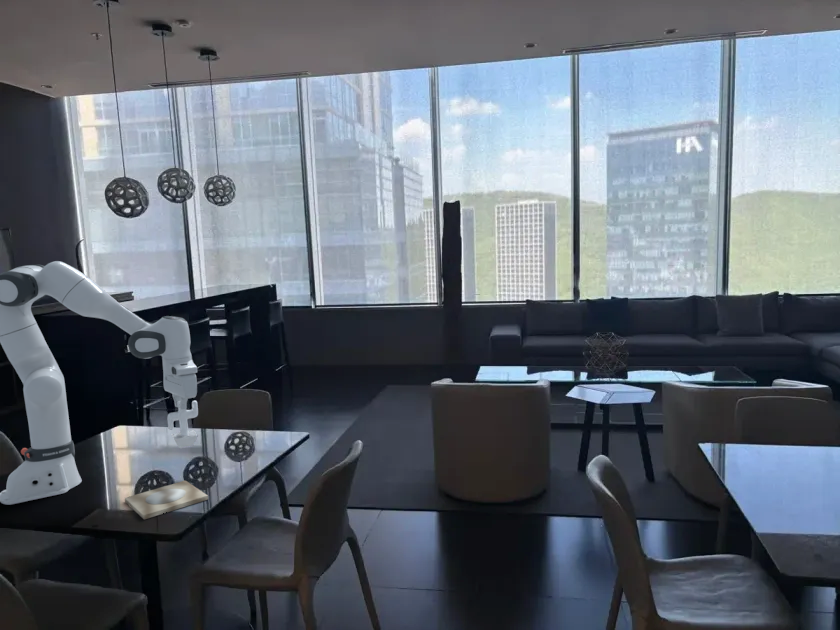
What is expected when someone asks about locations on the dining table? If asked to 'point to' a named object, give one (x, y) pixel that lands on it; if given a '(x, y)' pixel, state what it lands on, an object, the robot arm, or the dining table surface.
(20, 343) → the robot arm
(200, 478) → the dining table surface
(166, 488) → the oak board
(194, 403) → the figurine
